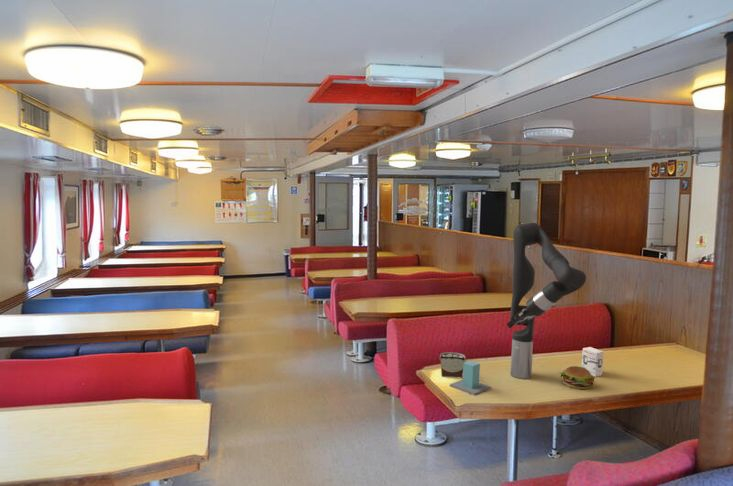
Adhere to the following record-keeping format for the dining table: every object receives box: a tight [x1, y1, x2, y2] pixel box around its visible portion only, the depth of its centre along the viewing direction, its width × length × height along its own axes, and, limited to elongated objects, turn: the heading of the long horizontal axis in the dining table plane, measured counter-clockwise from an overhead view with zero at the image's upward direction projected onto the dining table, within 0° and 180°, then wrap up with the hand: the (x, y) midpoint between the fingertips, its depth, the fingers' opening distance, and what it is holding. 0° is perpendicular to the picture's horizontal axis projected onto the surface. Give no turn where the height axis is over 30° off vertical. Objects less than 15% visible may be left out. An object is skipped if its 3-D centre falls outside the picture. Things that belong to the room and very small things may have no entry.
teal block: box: [462, 360, 481, 389], centre depth 221 cm, size 5×5×10 cm
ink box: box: [580, 346, 604, 378], centre depth 243 cm, size 9×5×12 cm, turn 26°
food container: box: [438, 351, 467, 379], centre depth 236 cm, size 12×6×10 cm, turn 84°
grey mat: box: [449, 379, 492, 396], centre depth 221 cm, size 12×13×1 cm
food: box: [559, 365, 596, 390], centre depth 228 cm, size 14×14×8 cm
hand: (513, 324), depth 210 cm, fingers open, 8 cm apart
